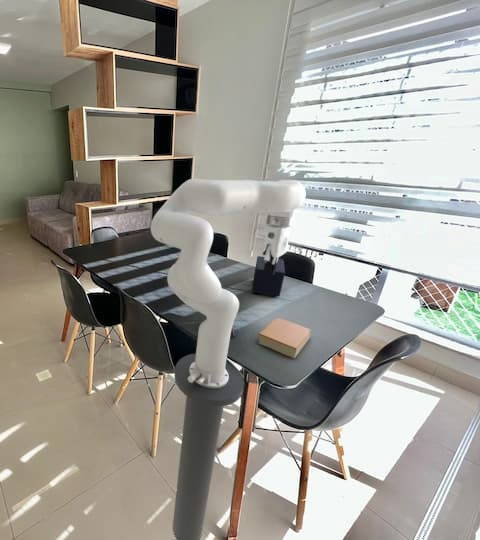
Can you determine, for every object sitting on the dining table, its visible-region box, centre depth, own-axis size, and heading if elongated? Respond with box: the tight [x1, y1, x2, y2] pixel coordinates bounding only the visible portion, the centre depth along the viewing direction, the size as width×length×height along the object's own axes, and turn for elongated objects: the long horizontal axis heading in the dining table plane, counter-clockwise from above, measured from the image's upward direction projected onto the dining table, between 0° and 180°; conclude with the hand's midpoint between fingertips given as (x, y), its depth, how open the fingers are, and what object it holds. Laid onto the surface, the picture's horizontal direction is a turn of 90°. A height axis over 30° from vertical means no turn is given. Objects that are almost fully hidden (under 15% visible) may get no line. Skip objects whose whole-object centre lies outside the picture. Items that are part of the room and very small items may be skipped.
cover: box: [258, 316, 312, 350], centre depth 109 cm, size 17×13×1 cm
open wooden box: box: [257, 331, 312, 359], centre depth 110 cm, size 17×13×4 cm
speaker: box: [251, 255, 286, 298], centre depth 152 cm, size 22×13×15 cm, turn 154°
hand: (268, 273), depth 99 cm, fingers closed
